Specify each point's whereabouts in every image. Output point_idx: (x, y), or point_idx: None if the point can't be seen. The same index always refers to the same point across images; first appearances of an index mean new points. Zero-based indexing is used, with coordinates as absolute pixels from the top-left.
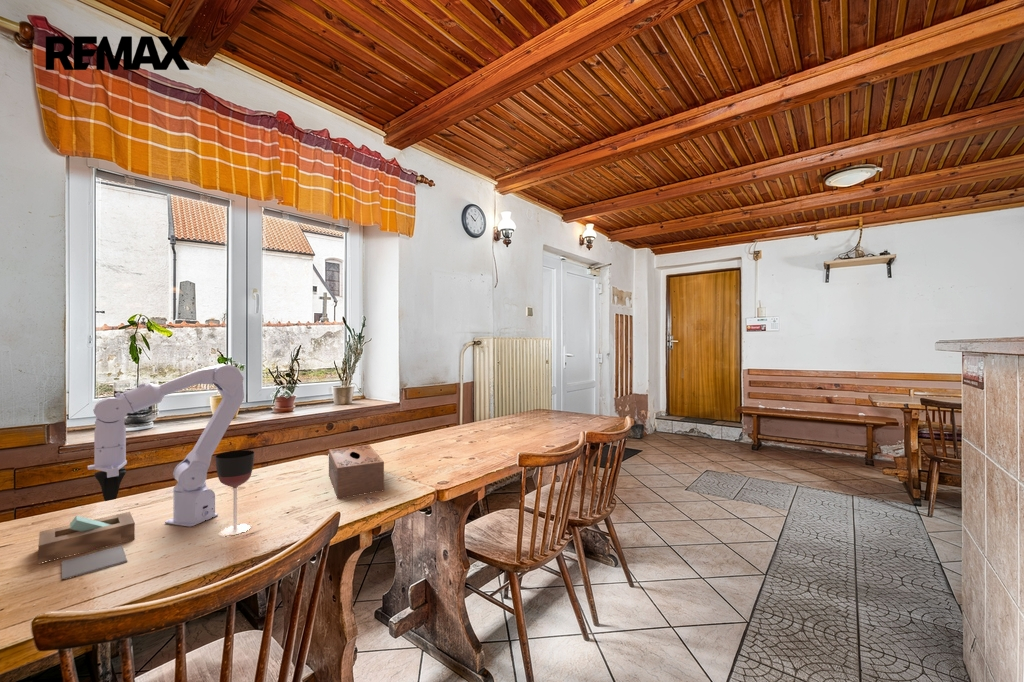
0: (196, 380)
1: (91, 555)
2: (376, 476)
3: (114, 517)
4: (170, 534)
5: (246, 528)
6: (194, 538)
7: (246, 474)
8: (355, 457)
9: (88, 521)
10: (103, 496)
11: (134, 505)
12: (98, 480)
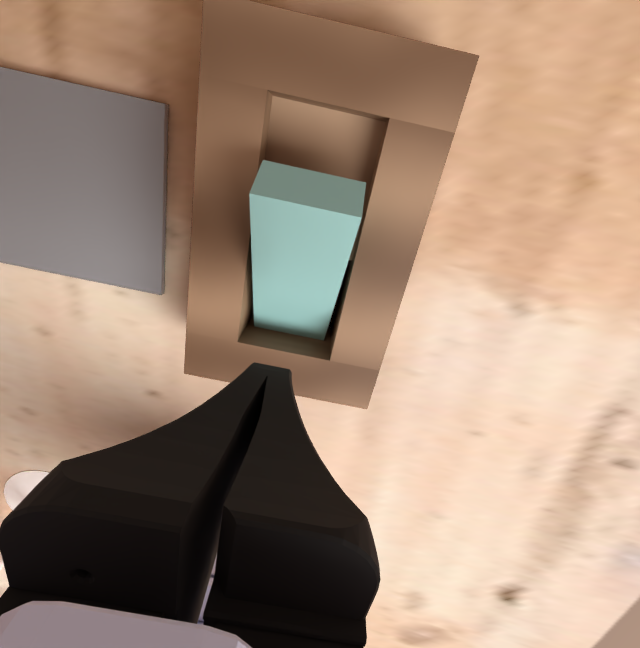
0: None
1: (138, 198)
2: None
3: (342, 352)
4: (161, 411)
5: None
6: (65, 432)
7: None
8: None
9: (287, 250)
10: (242, 374)
11: (616, 453)
12: (82, 457)
